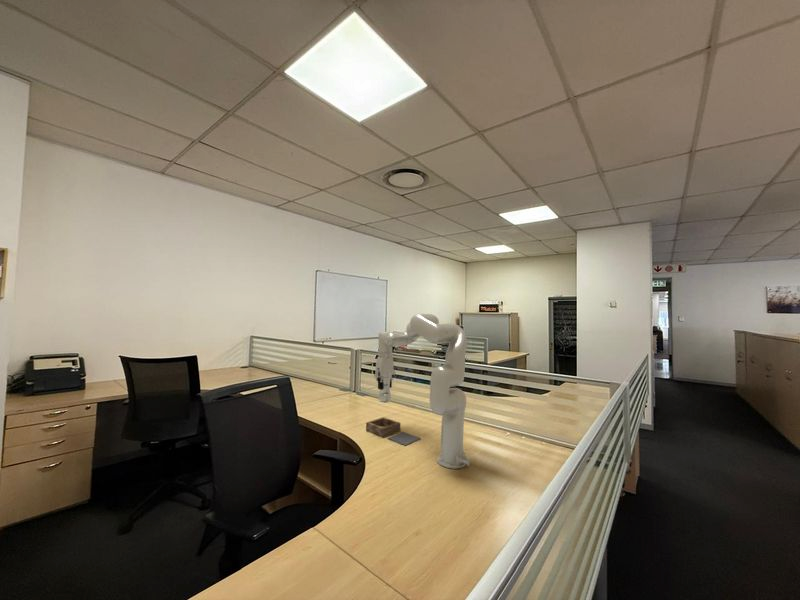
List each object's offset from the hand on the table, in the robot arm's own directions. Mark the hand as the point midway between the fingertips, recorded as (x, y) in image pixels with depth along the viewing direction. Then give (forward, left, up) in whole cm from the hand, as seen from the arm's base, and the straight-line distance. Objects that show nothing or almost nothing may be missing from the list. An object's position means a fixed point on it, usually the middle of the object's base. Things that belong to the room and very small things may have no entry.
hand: (384, 388), depth 175 cm
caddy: (0, 0, -23) cm, 23 cm away
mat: (-15, 0, -23) cm, 27 cm away
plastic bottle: (0, 0, -8) cm, 8 cm away
